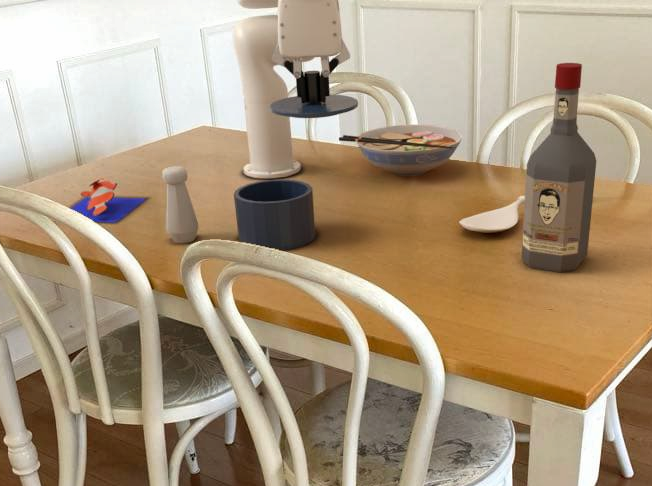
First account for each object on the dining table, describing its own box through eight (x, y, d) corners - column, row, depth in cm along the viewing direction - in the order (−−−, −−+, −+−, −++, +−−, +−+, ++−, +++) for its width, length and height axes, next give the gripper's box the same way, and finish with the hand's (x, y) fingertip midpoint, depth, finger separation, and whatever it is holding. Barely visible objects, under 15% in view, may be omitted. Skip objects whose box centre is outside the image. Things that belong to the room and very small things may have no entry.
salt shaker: (169, 235, 161) (158, 164, 154) (200, 232, 161) (191, 162, 155) (166, 246, 156) (155, 173, 149) (198, 243, 156) (189, 171, 150)
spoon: (591, 198, 168) (593, 180, 167) (490, 245, 149) (490, 225, 148) (551, 190, 174) (552, 172, 172) (448, 234, 155) (449, 215, 153)
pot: (243, 226, 163) (238, 181, 159) (316, 223, 163) (313, 177, 159) (235, 252, 152) (230, 204, 147) (314, 249, 151) (310, 201, 147)
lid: (274, 103, 154) (271, 65, 151) (358, 99, 154) (357, 62, 150) (266, 122, 141) (262, 82, 138) (357, 119, 141) (356, 78, 138)
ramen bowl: (482, 162, 193) (483, 124, 189) (441, 192, 176) (442, 151, 172) (380, 153, 203) (379, 117, 199) (333, 180, 186) (330, 141, 182)
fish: (90, 173, 179) (128, 174, 178) (94, 196, 182) (132, 197, 180) (59, 193, 168) (101, 193, 167) (65, 216, 171) (105, 217, 169)
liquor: (536, 247, 147) (549, 58, 132) (590, 255, 143) (609, 60, 128) (516, 266, 141) (527, 69, 125) (572, 275, 136) (590, 72, 121)
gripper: (358, -25, 140) (362, 94, 150) (257, -20, 141) (267, 98, 150) (357, -21, 134) (362, 104, 143) (252, -16, 134) (263, 108, 144)
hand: (313, 100), depth 147 cm, fingers closed on lid, 2 cm apart
